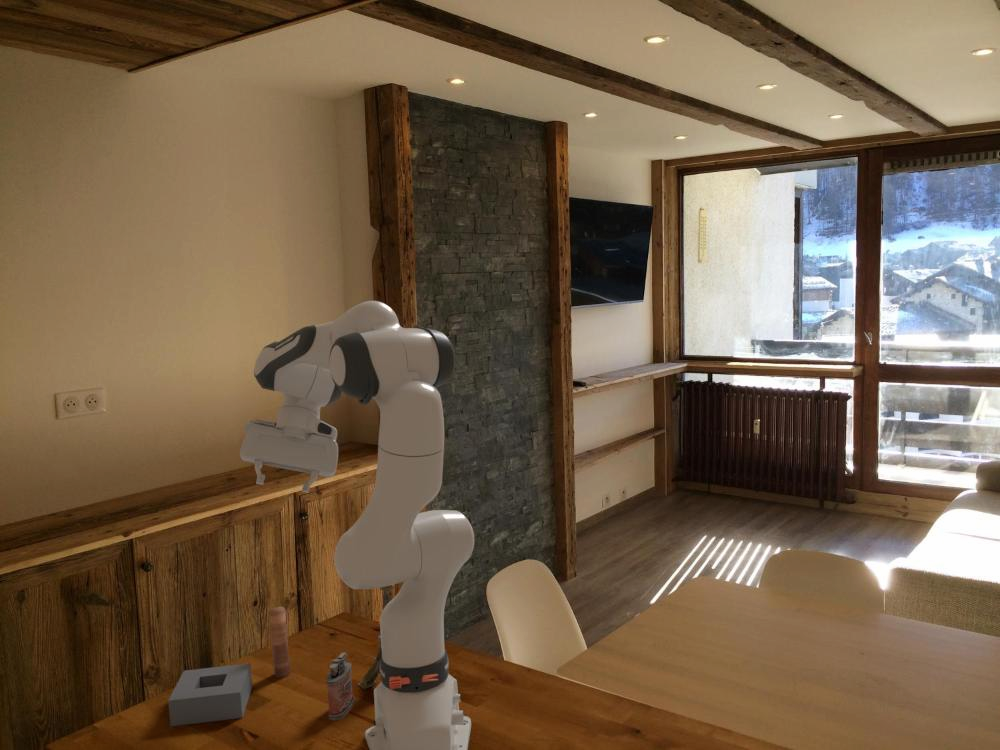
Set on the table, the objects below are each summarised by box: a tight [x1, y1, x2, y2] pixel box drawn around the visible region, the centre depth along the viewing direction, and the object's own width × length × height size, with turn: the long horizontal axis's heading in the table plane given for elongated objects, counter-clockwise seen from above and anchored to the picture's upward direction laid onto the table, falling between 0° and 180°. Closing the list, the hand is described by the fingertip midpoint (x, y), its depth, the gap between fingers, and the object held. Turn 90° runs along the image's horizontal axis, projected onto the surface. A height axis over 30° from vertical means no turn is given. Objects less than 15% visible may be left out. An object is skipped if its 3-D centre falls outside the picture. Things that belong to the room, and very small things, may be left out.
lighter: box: [325, 652, 355, 721], centre depth 160 cm, size 8×3×10 cm, turn 168°
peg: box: [268, 606, 291, 679], centre depth 176 cm, size 3×3×14 cm
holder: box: [167, 662, 253, 727], centre depth 164 cm, size 13×13×5 cm
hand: (282, 487), depth 176 cm, fingers open, 8 cm apart
